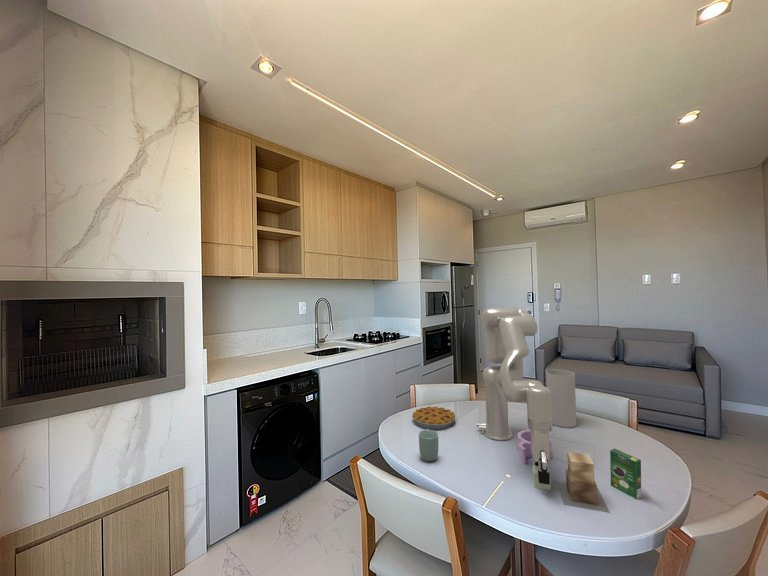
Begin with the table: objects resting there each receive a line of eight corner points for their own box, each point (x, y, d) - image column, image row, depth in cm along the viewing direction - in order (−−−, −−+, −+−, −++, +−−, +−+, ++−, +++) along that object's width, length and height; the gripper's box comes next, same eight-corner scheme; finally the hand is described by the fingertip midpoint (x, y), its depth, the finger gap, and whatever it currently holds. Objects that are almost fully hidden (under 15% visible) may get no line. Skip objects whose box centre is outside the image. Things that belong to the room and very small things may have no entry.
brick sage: (534, 491, 104) (533, 472, 104) (532, 482, 109) (532, 465, 109) (551, 494, 103) (550, 475, 103) (548, 484, 107) (548, 467, 107)
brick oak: (572, 480, 97) (571, 461, 98) (567, 470, 103) (567, 451, 103) (594, 484, 95) (593, 464, 95) (589, 473, 101) (588, 454, 101)
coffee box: (643, 501, 98) (641, 459, 98) (637, 503, 97) (636, 461, 97) (615, 486, 105) (614, 447, 105) (610, 489, 104) (608, 449, 104)
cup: (440, 455, 128) (439, 430, 129) (437, 465, 121) (436, 439, 121) (421, 452, 131) (420, 428, 131) (417, 462, 124) (416, 436, 124)
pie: (429, 410, 177) (428, 401, 177) (463, 421, 162) (463, 411, 162) (404, 423, 161) (403, 413, 161) (439, 435, 146) (439, 424, 146)
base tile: (563, 508, 96) (563, 504, 96) (556, 485, 107) (556, 481, 107) (610, 517, 91) (610, 512, 91) (598, 491, 103) (597, 488, 103)
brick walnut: (571, 500, 97) (570, 481, 97) (566, 487, 104) (565, 469, 104) (597, 505, 95) (597, 485, 95) (591, 491, 101) (590, 472, 101)
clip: (548, 474, 114) (547, 455, 114) (511, 464, 121) (511, 446, 121) (553, 450, 130) (552, 433, 130) (521, 442, 137) (520, 427, 137)
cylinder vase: (576, 420, 158) (574, 371, 158) (576, 430, 147) (574, 377, 147) (548, 416, 164) (547, 368, 165) (546, 425, 154) (544, 374, 154)
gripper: (525, 413, 115) (527, 460, 115) (530, 432, 99) (532, 488, 98) (548, 415, 113) (550, 464, 112) (556, 435, 96) (559, 492, 96)
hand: (542, 475), depth 105 cm, fingers open, 9 cm apart
